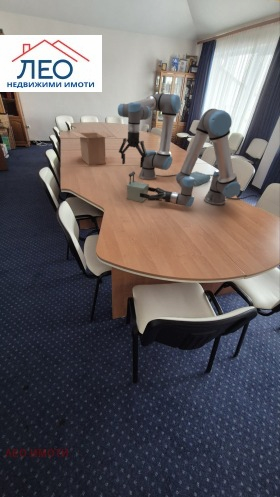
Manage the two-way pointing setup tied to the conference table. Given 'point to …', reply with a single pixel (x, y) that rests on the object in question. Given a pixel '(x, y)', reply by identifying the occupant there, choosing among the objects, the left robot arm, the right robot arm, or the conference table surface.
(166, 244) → the conference table surface
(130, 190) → the chest
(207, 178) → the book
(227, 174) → the right robot arm
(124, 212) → the conference table surface
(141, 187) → the lid
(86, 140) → the box
